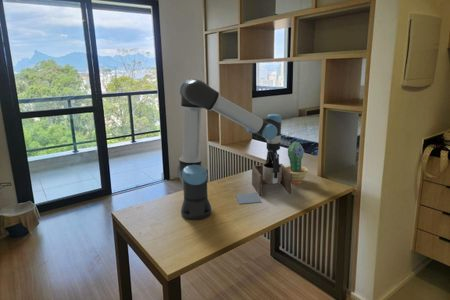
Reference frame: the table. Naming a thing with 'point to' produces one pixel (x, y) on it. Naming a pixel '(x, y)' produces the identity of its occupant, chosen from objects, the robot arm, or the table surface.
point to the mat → (248, 198)
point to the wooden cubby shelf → (257, 183)
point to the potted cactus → (296, 163)
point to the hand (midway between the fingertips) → (271, 179)
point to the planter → (270, 173)
